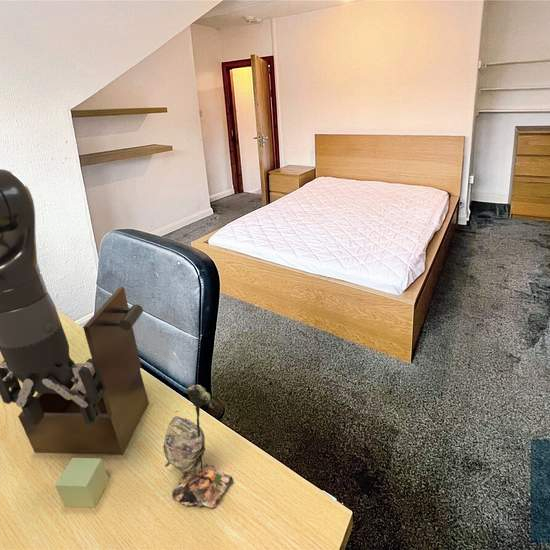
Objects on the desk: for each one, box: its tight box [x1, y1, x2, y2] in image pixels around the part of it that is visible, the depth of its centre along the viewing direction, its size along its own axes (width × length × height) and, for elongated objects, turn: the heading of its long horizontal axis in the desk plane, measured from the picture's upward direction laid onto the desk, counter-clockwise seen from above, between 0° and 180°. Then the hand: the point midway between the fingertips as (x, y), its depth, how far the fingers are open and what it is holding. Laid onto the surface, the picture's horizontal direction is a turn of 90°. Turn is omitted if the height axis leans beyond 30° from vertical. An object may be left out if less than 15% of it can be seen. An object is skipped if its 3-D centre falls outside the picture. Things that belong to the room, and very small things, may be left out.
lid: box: [82, 286, 144, 416], centre depth 70 cm, size 18×13×5 cm
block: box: [54, 457, 109, 509], centre depth 65 cm, size 5×5×5 cm
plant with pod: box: [162, 384, 234, 510], centre depth 62 cm, size 8×11×20 cm
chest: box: [17, 369, 150, 456], centre depth 77 cm, size 17×13×9 cm
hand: (65, 421), depth 60 cm, fingers open, 8 cm apart
